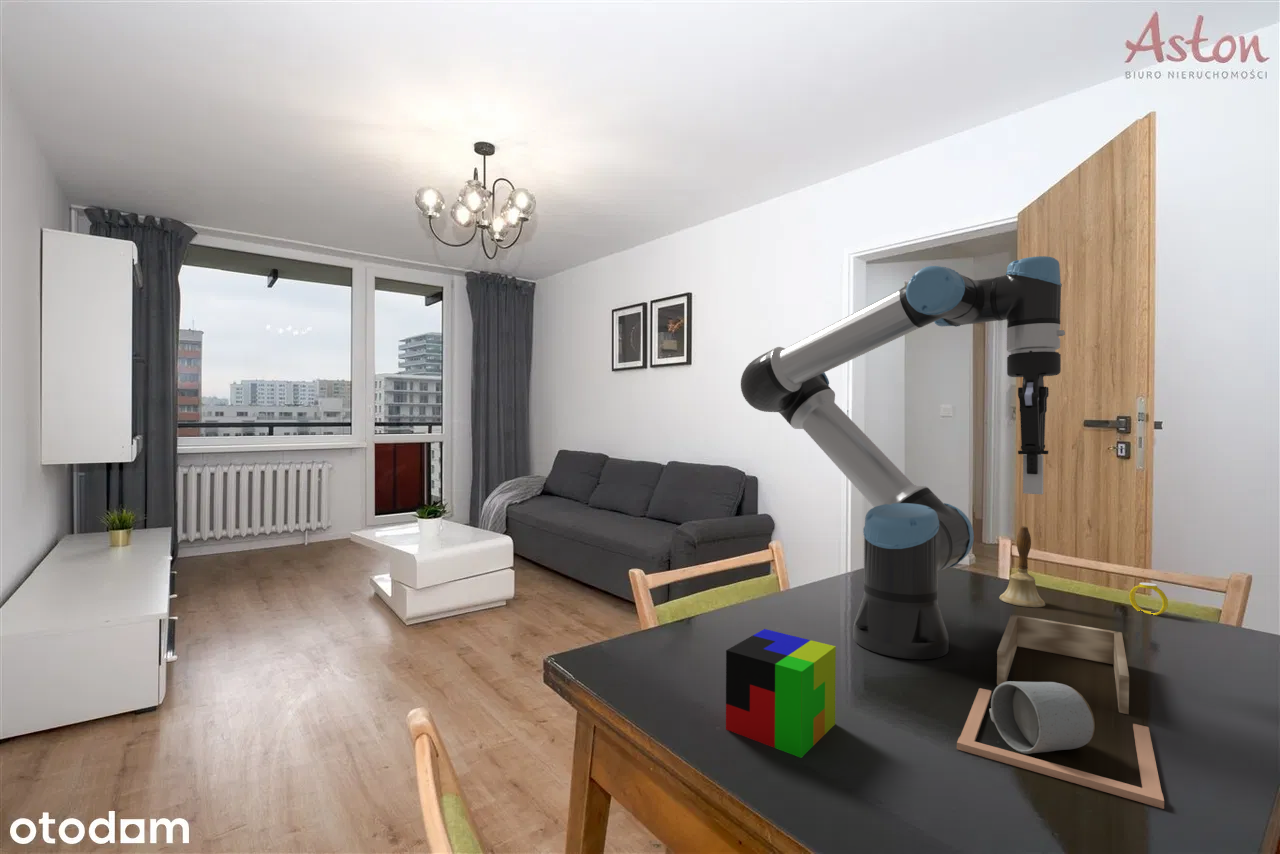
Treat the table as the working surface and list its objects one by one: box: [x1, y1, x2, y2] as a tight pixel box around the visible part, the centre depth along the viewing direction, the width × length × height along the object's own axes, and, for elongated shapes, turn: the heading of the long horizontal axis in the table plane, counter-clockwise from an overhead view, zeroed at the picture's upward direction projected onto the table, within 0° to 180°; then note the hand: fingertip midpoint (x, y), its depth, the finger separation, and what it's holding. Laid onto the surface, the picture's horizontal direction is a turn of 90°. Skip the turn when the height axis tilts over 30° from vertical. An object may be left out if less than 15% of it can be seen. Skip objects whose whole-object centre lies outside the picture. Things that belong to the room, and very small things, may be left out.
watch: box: [1128, 582, 1169, 616], centre depth 122 cm, size 6×3×6 cm, turn 26°
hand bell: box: [998, 525, 1046, 608], centre depth 129 cm, size 8×8×16 cm
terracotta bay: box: [956, 687, 1165, 810], centre depth 74 cm, size 18×19×1 cm
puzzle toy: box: [725, 628, 837, 759], centre depth 77 cm, size 10×10×10 cm
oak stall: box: [996, 614, 1130, 715], centre depth 93 cm, size 15×20×5 cm
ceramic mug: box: [988, 680, 1096, 755], centre depth 74 cm, size 11×8×8 cm
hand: (1033, 493), depth 102 cm, fingers closed
